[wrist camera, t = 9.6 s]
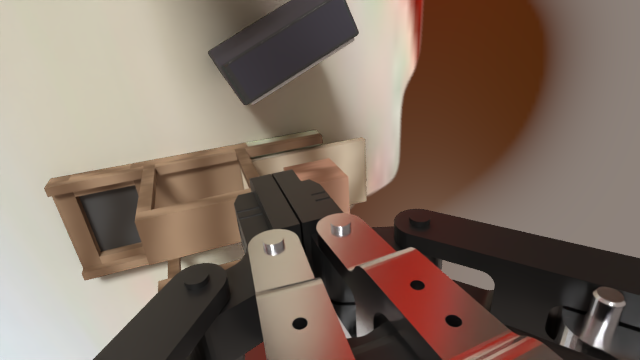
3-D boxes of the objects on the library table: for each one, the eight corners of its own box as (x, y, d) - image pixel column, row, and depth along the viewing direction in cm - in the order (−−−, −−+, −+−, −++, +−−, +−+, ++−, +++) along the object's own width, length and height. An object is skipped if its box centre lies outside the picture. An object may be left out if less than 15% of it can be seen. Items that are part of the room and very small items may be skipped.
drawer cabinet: (88, 267, 46) (60, 360, 34) (50, 178, 41) (1, 251, 29) (321, 210, 54) (364, 269, 42) (315, 129, 49) (362, 171, 37)
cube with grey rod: (250, 225, 49) (290, 336, 33) (238, 161, 45) (278, 251, 29) (363, 197, 54) (448, 283, 37) (361, 137, 50) (456, 203, 33)
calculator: (226, 81, 43) (250, 115, 30) (203, 46, 41) (219, 66, 28) (308, 30, 44) (365, 42, 31) (289, -7, 42) (343, -11, 29)
